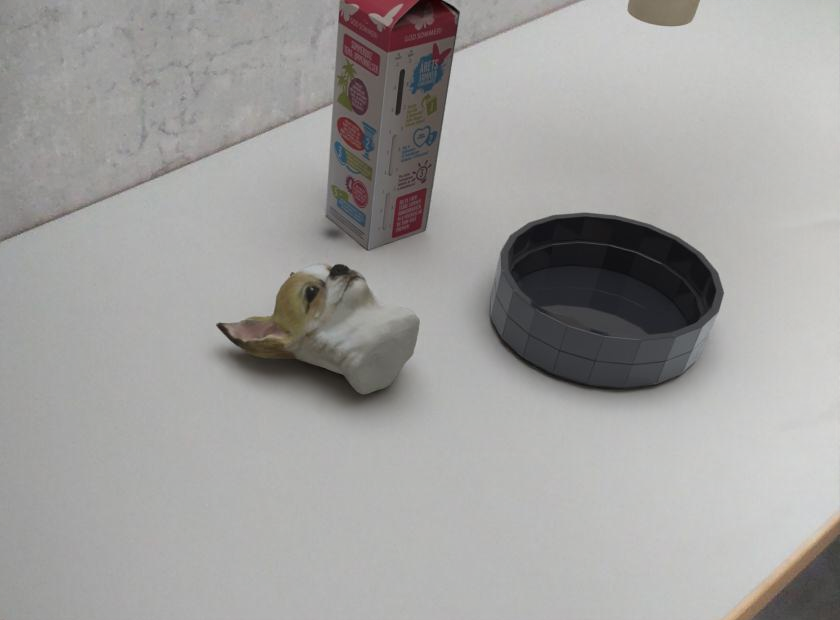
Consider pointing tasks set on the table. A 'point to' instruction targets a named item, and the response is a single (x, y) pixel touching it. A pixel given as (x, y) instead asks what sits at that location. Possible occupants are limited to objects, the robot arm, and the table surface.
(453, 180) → the table surface
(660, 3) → the candle
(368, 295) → the ceramic sculpture
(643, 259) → the pan
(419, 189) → the juice carton
